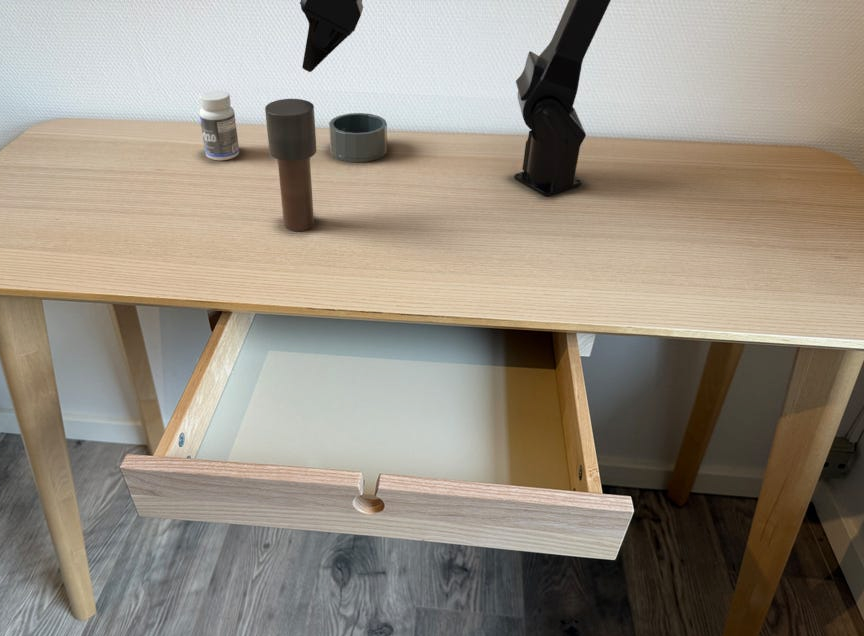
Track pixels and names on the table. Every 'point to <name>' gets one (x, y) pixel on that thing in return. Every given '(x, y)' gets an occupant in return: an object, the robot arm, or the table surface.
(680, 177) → the table surface
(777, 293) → the table surface
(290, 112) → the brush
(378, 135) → the cup
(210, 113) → the pill bottle
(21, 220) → the table surface
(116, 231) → the table surface
